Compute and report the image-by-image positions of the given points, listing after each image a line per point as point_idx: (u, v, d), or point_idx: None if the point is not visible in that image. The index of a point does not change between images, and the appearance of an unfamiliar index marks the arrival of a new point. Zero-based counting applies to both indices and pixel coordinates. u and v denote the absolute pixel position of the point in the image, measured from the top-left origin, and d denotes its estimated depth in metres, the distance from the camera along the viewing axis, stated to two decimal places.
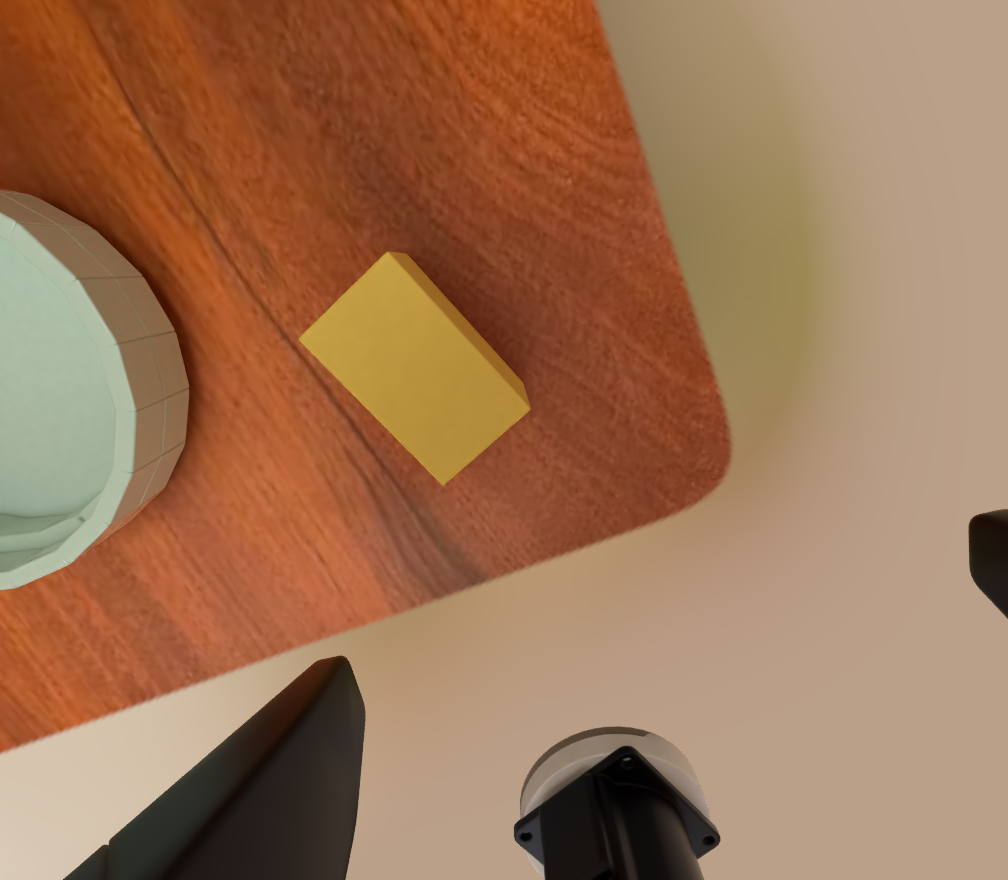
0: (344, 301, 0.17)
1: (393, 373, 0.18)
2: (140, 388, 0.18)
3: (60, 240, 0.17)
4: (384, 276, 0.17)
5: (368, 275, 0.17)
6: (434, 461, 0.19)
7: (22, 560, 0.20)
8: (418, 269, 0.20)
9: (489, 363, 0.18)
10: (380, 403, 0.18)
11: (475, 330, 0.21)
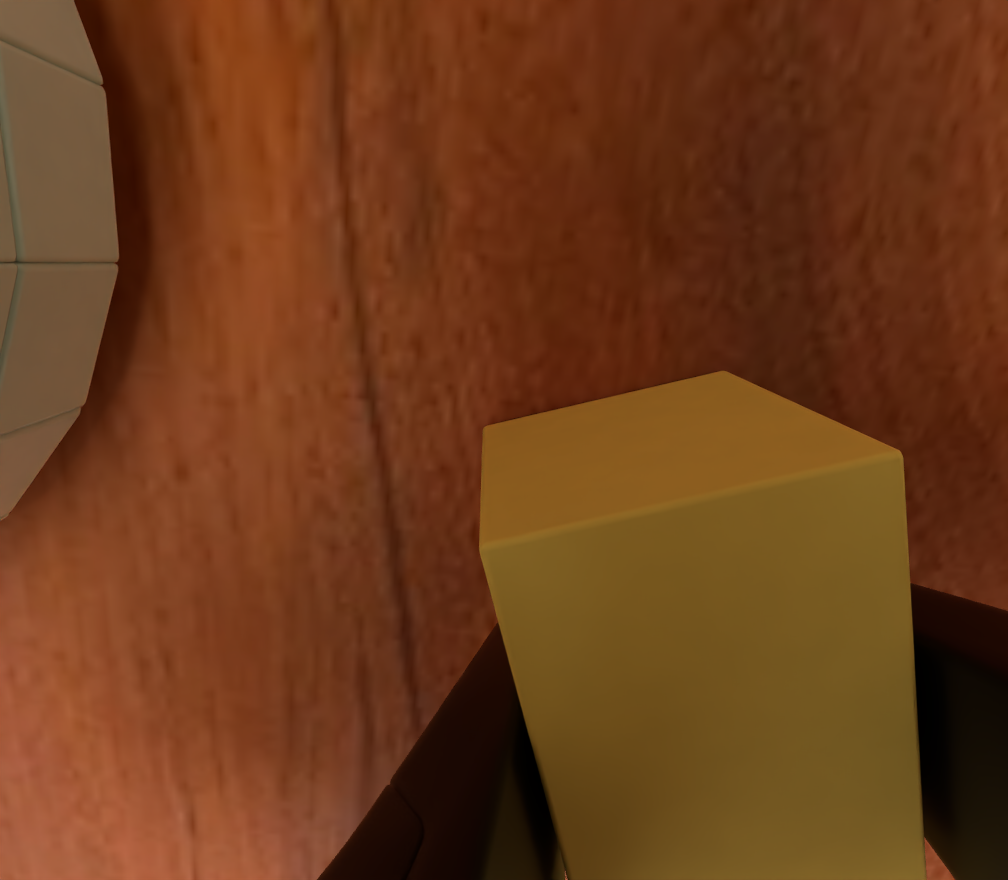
0: (685, 516, 0.05)
1: (678, 753, 0.06)
2: None
3: None
4: (843, 512, 0.05)
5: (806, 488, 0.05)
6: None
7: None
8: None
9: (923, 835, 0.06)
10: (592, 803, 0.06)
11: None
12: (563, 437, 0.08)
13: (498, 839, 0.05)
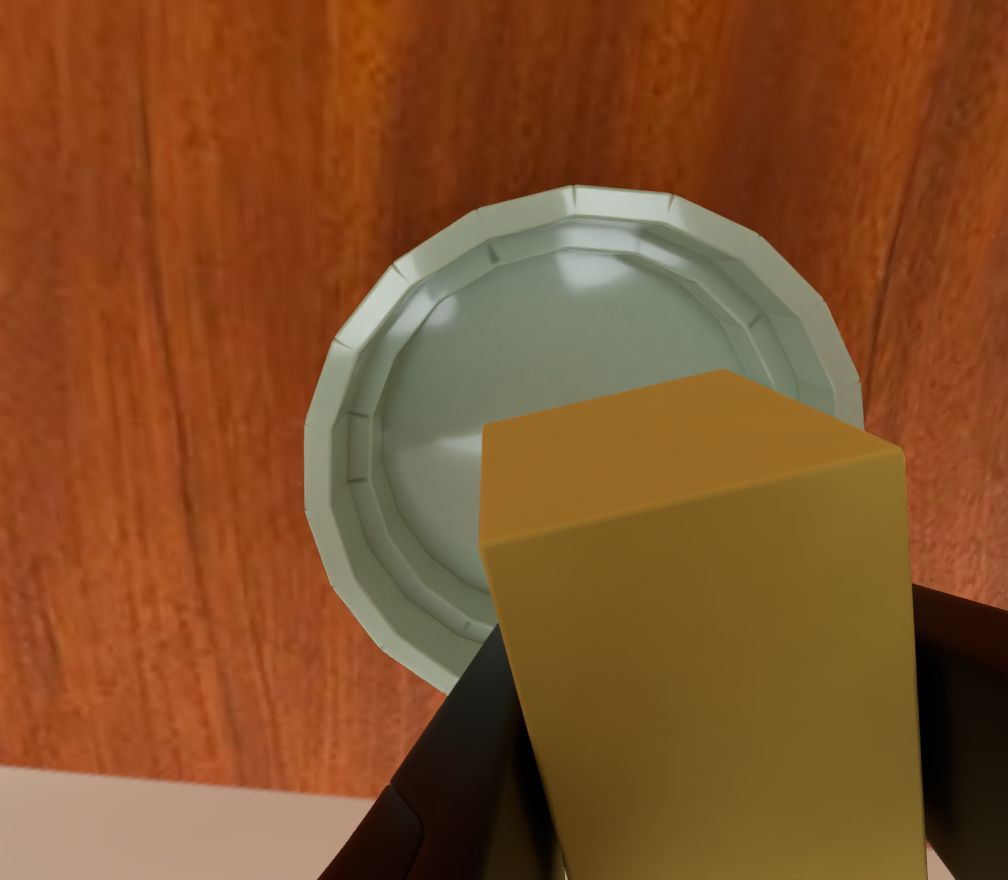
0: (686, 514, 0.05)
1: (679, 750, 0.06)
2: None
3: None
4: (844, 509, 0.05)
5: (807, 485, 0.05)
6: None
7: None
8: None
9: (924, 834, 0.06)
10: (592, 802, 0.06)
11: None
12: (561, 435, 0.07)
13: (498, 839, 0.05)
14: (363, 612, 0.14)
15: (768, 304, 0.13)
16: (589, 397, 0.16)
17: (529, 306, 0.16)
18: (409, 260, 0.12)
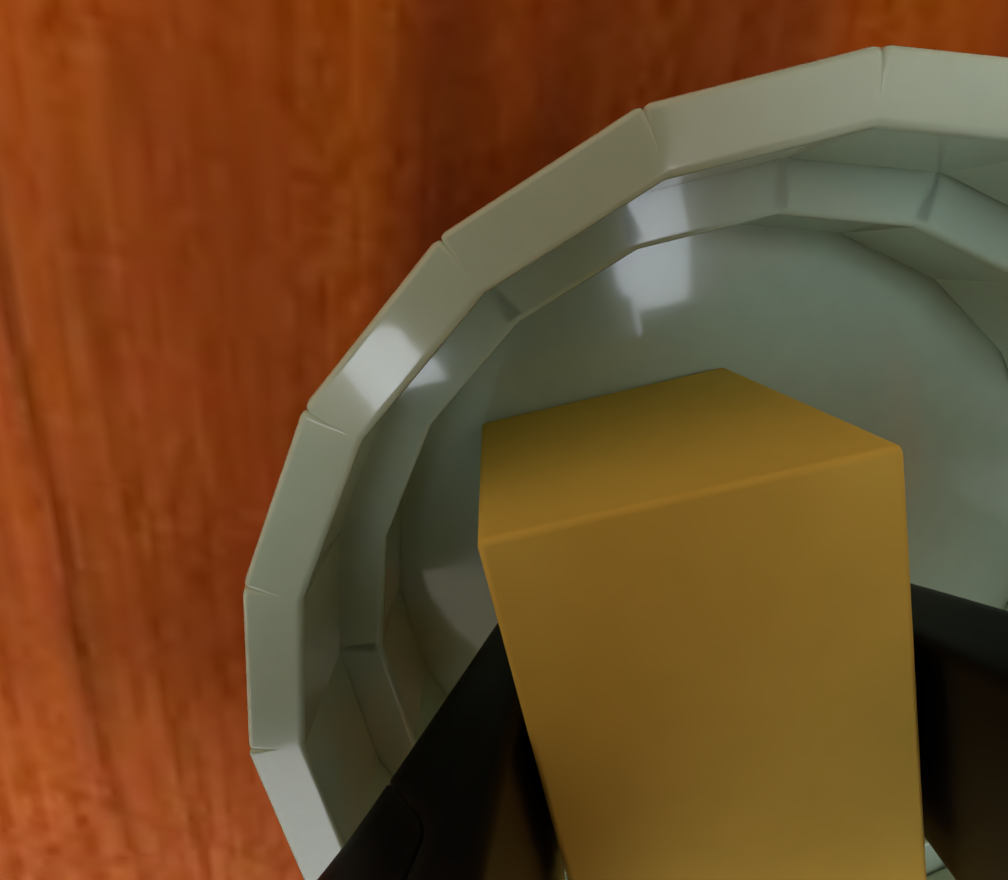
0: (684, 512, 0.05)
1: (678, 749, 0.06)
2: None
3: None
4: (843, 507, 0.05)
5: (806, 483, 0.05)
6: None
7: None
8: None
9: (923, 832, 0.06)
10: (591, 800, 0.06)
11: None
12: (561, 435, 0.08)
13: (498, 839, 0.05)
14: None
15: None
16: None
17: (665, 324, 0.09)
18: (480, 230, 0.05)
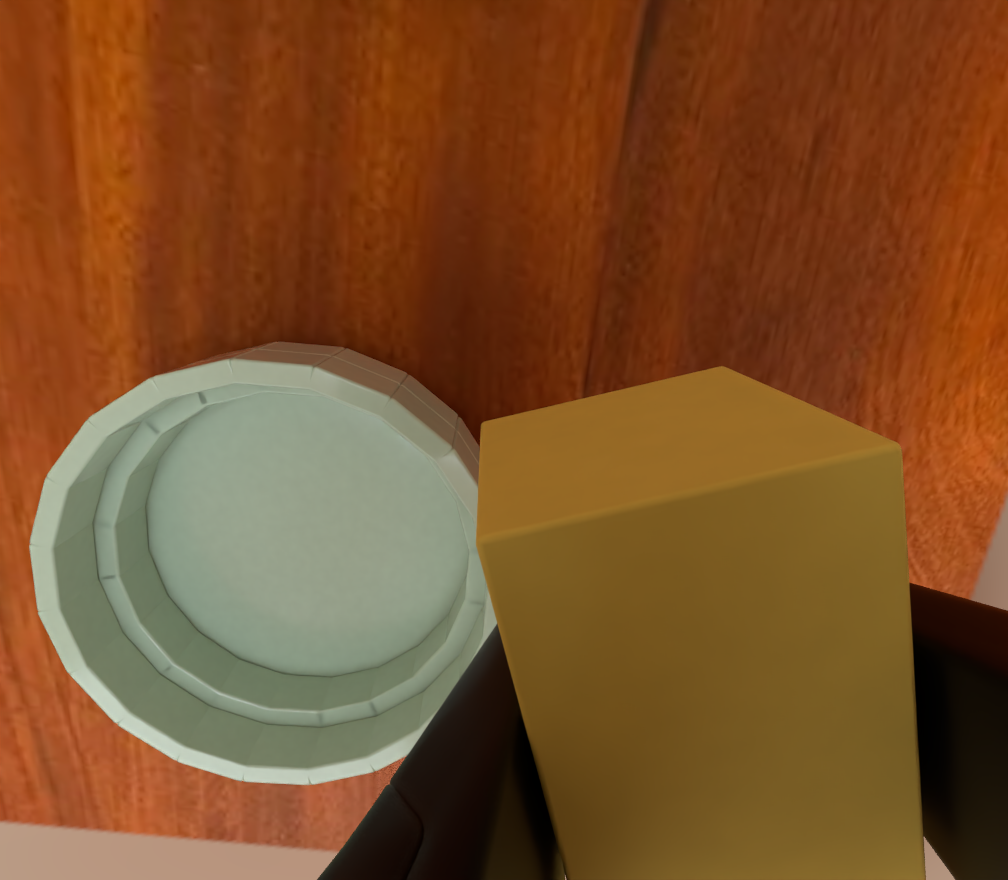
0: (682, 511, 0.05)
1: (677, 748, 0.06)
2: None
3: None
4: (842, 505, 0.05)
5: (804, 481, 0.05)
6: None
7: (252, 744, 0.18)
8: None
9: (922, 830, 0.06)
10: (590, 799, 0.06)
11: None
12: (560, 432, 0.07)
13: (498, 839, 0.05)
14: (98, 694, 0.17)
15: None
16: (326, 501, 0.19)
17: (264, 426, 0.18)
18: (101, 416, 0.15)
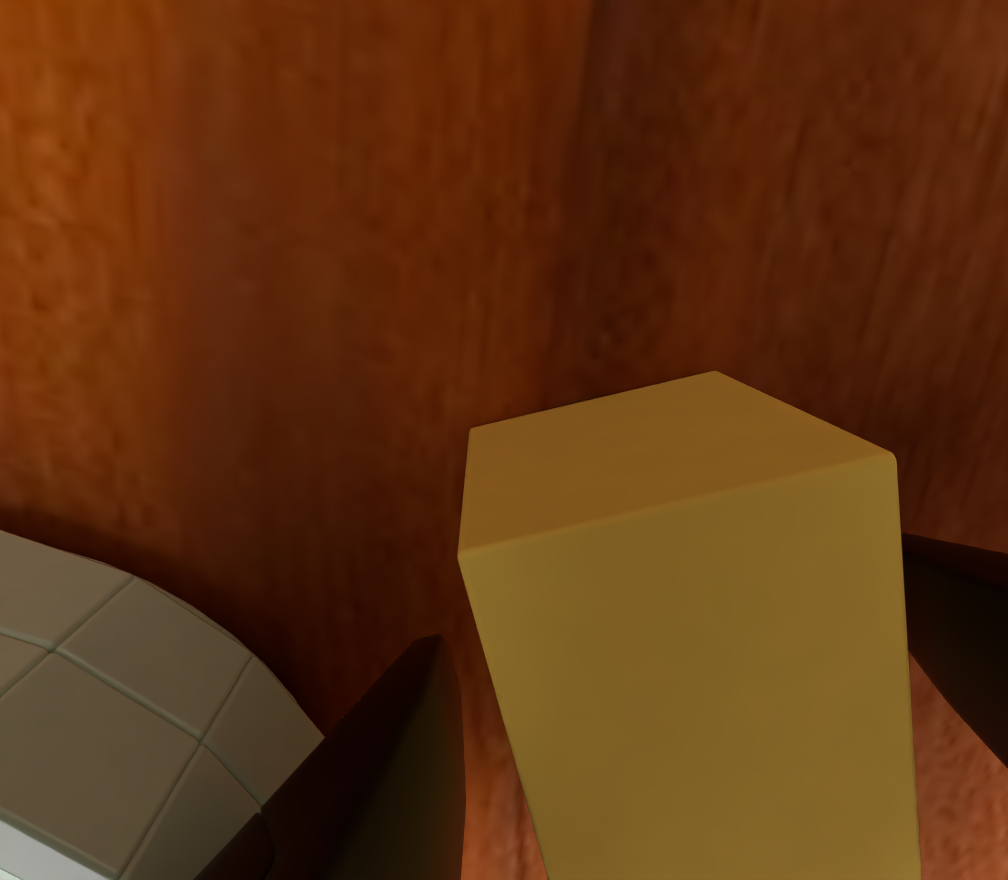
0: (671, 523, 0.05)
1: (666, 766, 0.06)
2: None
3: None
4: (834, 517, 0.05)
5: (796, 492, 0.05)
6: None
7: None
8: None
9: (919, 849, 0.06)
10: (577, 818, 0.06)
11: None
12: (548, 440, 0.07)
13: (347, 870, 0.05)
14: None
15: None
16: None
17: None
18: None
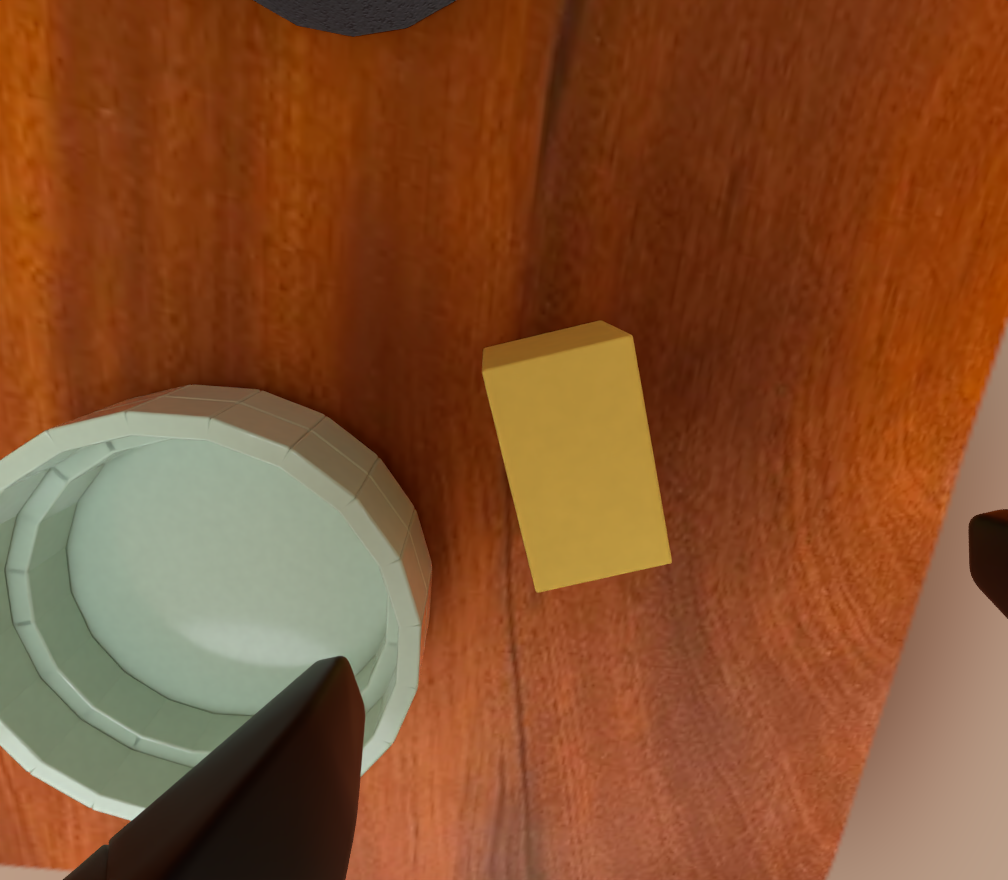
0: (556, 359, 0.14)
1: (559, 457, 0.15)
2: None
3: (412, 561, 0.17)
4: (613, 357, 0.14)
5: (598, 348, 0.14)
6: (543, 565, 0.16)
7: None
8: None
9: (660, 498, 0.15)
10: (526, 480, 0.15)
11: None
12: (518, 346, 0.17)
13: None
14: (8, 743, 0.17)
15: None
16: (248, 541, 0.19)
17: (183, 468, 0.18)
18: None
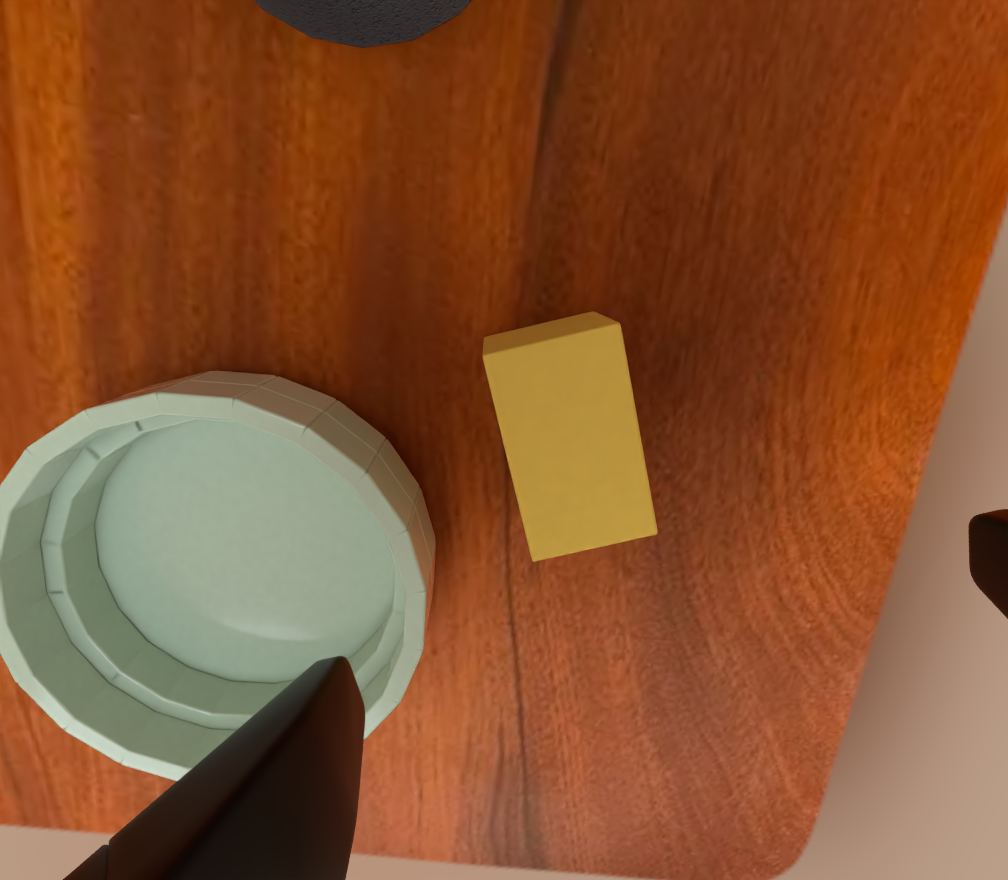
0: (550, 345, 0.16)
1: (553, 436, 0.16)
2: None
3: (417, 533, 0.18)
4: (602, 343, 0.16)
5: (588, 335, 0.16)
6: (539, 535, 0.17)
7: (194, 747, 0.19)
8: None
9: (646, 473, 0.17)
10: (523, 456, 0.16)
11: None
12: (516, 334, 0.18)
13: None
14: (44, 702, 0.18)
15: None
16: (264, 518, 0.20)
17: (204, 449, 0.19)
18: (39, 446, 0.16)
